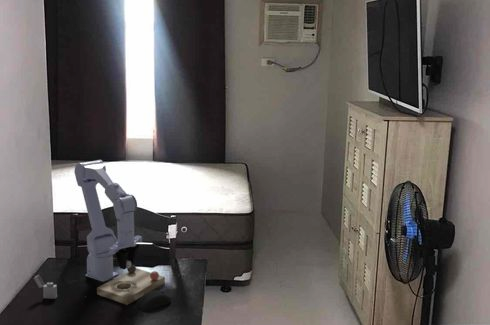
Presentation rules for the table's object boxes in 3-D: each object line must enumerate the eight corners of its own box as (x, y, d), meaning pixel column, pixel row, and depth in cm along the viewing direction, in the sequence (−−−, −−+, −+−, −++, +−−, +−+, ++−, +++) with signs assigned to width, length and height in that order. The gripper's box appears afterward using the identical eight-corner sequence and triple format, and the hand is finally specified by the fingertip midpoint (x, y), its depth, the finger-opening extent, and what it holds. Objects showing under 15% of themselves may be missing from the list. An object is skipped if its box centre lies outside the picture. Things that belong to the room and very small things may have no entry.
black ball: (125, 273, 195) (125, 265, 195) (131, 270, 198) (131, 262, 197) (131, 275, 194) (131, 267, 193) (137, 272, 197) (137, 264, 196)
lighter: (57, 296, 182) (56, 274, 180) (55, 298, 180) (54, 277, 178) (36, 295, 182) (35, 274, 180) (34, 298, 180) (33, 276, 178)
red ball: (148, 280, 190) (148, 272, 189) (153, 277, 193) (153, 269, 192) (155, 282, 189) (155, 274, 188) (160, 279, 191) (160, 271, 191)
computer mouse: (172, 302, 180) (172, 292, 179) (143, 313, 173) (143, 301, 172) (162, 296, 185) (162, 285, 184) (134, 305, 177) (134, 294, 176)
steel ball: (120, 268, 184) (120, 260, 183) (126, 265, 187) (126, 257, 186) (127, 270, 183) (127, 262, 182) (133, 267, 185) (133, 259, 185)
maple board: (97, 294, 184) (96, 287, 183) (135, 274, 201) (135, 268, 200) (127, 304, 177) (127, 298, 176) (164, 283, 194) (164, 276, 193)
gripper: (119, 238, 174) (120, 276, 177) (148, 226, 186) (148, 262, 189) (104, 234, 177) (105, 271, 180) (133, 222, 189) (133, 257, 192)
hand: (126, 266), depth 185 cm, fingers closed on steel ball, 3 cm apart
